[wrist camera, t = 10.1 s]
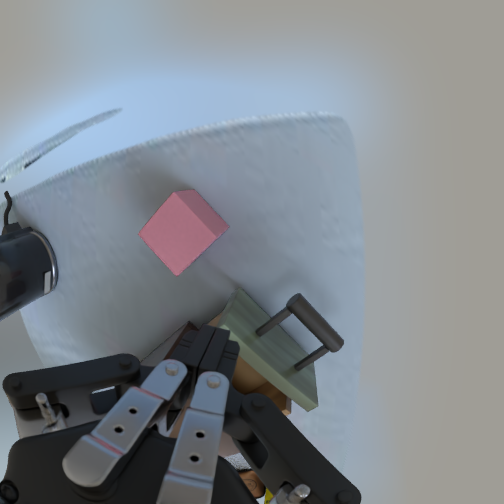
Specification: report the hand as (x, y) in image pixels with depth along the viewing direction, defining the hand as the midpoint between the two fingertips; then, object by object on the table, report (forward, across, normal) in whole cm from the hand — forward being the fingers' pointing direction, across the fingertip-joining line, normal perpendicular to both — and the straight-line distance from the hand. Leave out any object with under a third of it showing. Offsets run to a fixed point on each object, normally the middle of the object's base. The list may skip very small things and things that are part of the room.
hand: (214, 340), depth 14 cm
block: (+13, +6, -3) cm, 15 cm away
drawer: (+12, -2, +9) cm, 15 cm away
